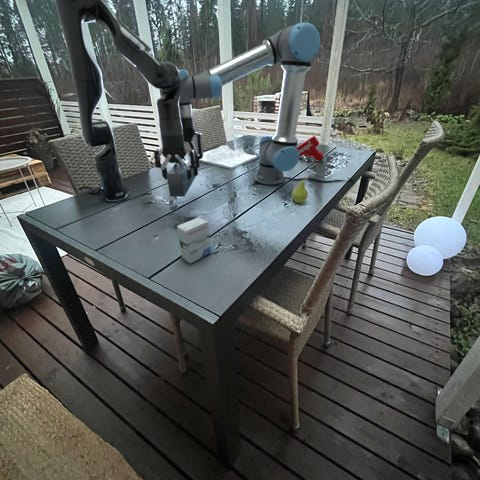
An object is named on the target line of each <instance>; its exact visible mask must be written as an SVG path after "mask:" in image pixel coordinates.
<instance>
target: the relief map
mask: <svg viewBox="0 0 480 480" xmlns="http://www.w3.org/2000/svg"><path fill="white" fill-rule="evenodd" d="M198 156H199V153H198ZM256 159H258V155H256V154H249V153H246V152H245V151H244V149H242V148H238V149H235V150H233V149H231V148H230V147H229V146H228V145H227V144H225V145H224V144H221V145H220V146H219V147H216V148H213V149H210V150H208V151H203V158H202V159H199V163H200V162H201V163H204V164H209V165H214V166H217V167H222V168H226V169H230V170H233V169H235V168H237V167H240V166H241V165H244V164H247V163H250V162H252V161H254V160H256Z"/></svg>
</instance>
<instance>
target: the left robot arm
mask: <svg viewBox="0 0 480 480" xmlns="http://www.w3.org/2000/svg"><path fill="white" fill-rule="evenodd" d="M54 4H55V8H56V12H57V15H58V19H59V22H60V26H61V30H62V33H63V37H64V40H65V45H66V48H67V55H68V59H69V63H70V64H69V65H70V70H71V75H72V76H71V77H72V82H73V86H74V90H75V94H76V101H77V105H78V113H79V122H80V131H81V136H82V139H83V141H84V143H85V145H86V146H88V147H90V148H96V147H103V146H104V147H103V148H102V150H100V151H99V152H97V153H95V155H93V160H94V161H93V162H94V164H95V168H96V170H97V174H98V177H99V178H98V180H99V186H100V187H99V188H98V191H94V187H92V186H86V185H82V186H80V187H79V189H78V190H82V189H89V191H88V193H89V194H91V195H97V194H100V193H101V192H102V193H103V194H102V195H103V197H104V199H105V201H106V202H108V203H119V202H123V201H125V200H126V199H127V198H128V194H127V189H126V186H125V182H124V178H123V173H122V170H121V167H120V162H119V159H118V153H117V148H116V143H115V137H114V133H113V129H112V127H111V124H110V123H109V122H108V121H107V120H96V121H93V118H94V113H95V110H96V109H97V106H98V105H99V103H100V101H101V100H102V97H103V94H104V81H103V74H102V69H101V67H100V65H99V63H98V61H97V60H96V59H95V57H94V56H93V53H91V51H90V50H89V48H88V46H87V44H86V41H85V37H84V30H83V24H88V23H95V24H97V25H99V26H100V27H101V28H103V29H104V30H105V31H106V32H107V33H108V34H109V36H110V38H111V40H112V43H113V45H114V47H115V48H116V50H117V51H118V52H119V53H120V55H121V56H123V58H125V59H126V60H127V61H128V62H129V63H130V64H131V65H132V66H134V67H136V69H137V70H138V72H139V73H140V74H141V75H142V77H143V78H144V79H145V81H146V82H147V83H148V84H149V85H150V86H151V87H152V88H155V89H157V90H161V95H160V96H159V98H158V99H157V100H156V110H157V116H158V128H159V135H160V141H161V147H162V150H161V149H158V148H157V149H155V150H154V151H153V157H154V164H155V165H154V166H155V168H157V169H160V170H161V174H162V175H161V176H162V178H163V179H164V180H167V175H166V174H167V173H168V168H167V166H168V164H169V163H170V164H175V163H182V165H184V166H185V167H186V168H187V178H188V180H190V179H191V177H192V168H195V166H196V159H195V152H194V150H193V149H192V150H191V149H190V150H187V149H186V148H185V147H186V145H185V142H184V137H183V128H182V122H181V118H180V109H179V98H180V86H181V80H180V74H179V71H178V70H179V69H178V67H177V66H176V65H175V64H174V63H173V62H171V61H159V60H158V59H156V58H155V54H154V51H153V49H152V48H151V47H150V46H149V45H148V44H147V43H146V42H145V41H144V40H142V39H141V38H140V37H139V36H138V35H137V34H135V33H134V32H133V31H132V29H130V28H129V27H128V26H126V25H125V23H124V22H123V21H122V20H121V19H120V18H119V16H118V15H117V14H116V13H115V11H113V9H112V8H111V7H110V6H109V5H108V4H107V2H106V1H104V0H54ZM186 154H187V155H188V156H189V157H190V159H191V164H190V163H189V162H188V160H187V159H186V158H185V155H186ZM161 156H163V157H164V158H165V159H164V161H163V162H161Z"/></svg>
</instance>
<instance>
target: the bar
mask: <svg viewBox="0 0 480 480" xmlns="http://www.w3.org/2000/svg"><path fill="white" fill-rule="evenodd" d="M185 158H186V159H187V160H188V162H189V163H190V164H191V159H190V157H189V156H188V155H187V154H186V155H185ZM166 175H167V179H166V180H167V181H166V182H167V187H168V193H169V197H171V198H174V197H177V198H178V197H179V198H180V197H181V198H183V197H184V198H185V197H186V195H187V193H188V191H189V190H190V188H191V186H192V185H193V183H194V181H195V179H196V177H197V176H195V168H192V177H191V179H190V180H188V178H187V168H186V167H185V166H184V165H182V163H173V166H172V167H171V168H170V169H169V170H168V171H167V174H166Z"/></svg>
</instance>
